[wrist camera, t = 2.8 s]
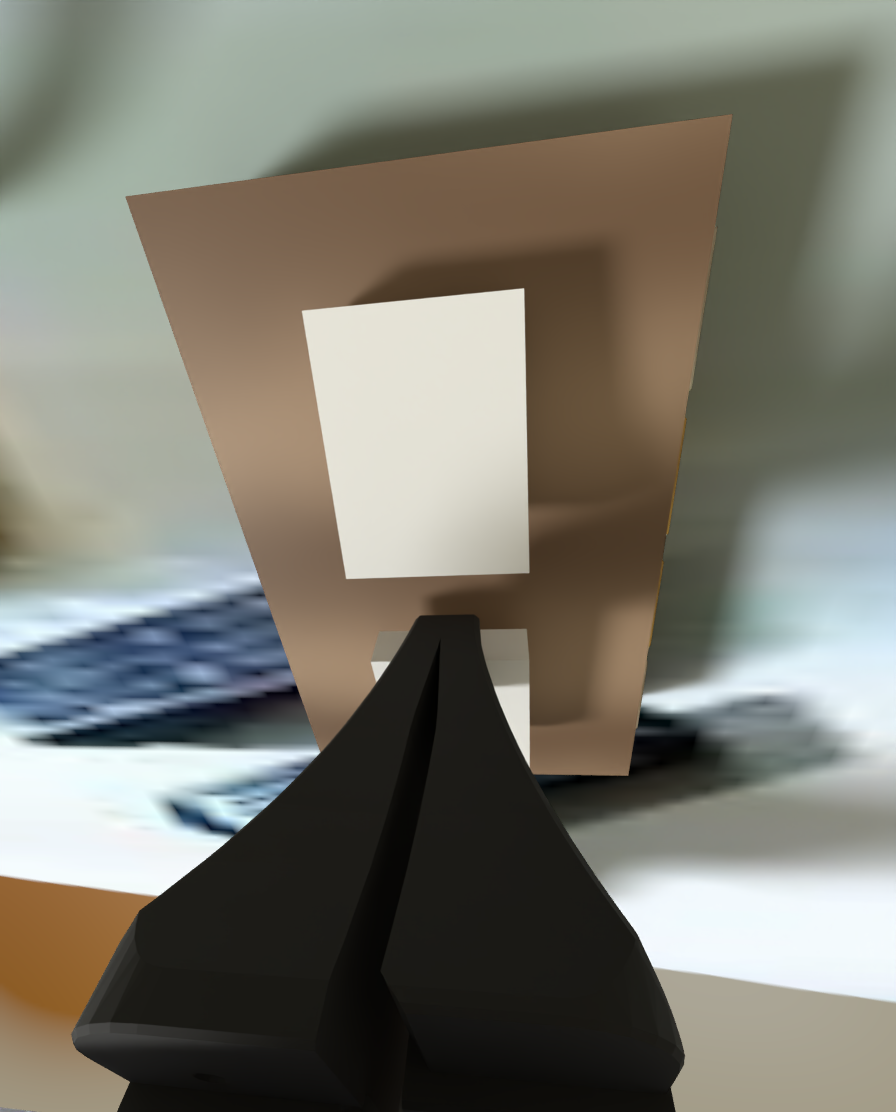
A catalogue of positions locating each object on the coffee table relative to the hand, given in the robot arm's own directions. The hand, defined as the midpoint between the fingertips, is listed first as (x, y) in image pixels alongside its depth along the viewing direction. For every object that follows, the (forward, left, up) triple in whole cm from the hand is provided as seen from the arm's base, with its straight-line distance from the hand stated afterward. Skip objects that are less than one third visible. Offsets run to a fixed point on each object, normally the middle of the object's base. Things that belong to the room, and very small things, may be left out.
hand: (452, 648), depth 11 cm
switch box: (+1, 0, -5) cm, 5 cm away
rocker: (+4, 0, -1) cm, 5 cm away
